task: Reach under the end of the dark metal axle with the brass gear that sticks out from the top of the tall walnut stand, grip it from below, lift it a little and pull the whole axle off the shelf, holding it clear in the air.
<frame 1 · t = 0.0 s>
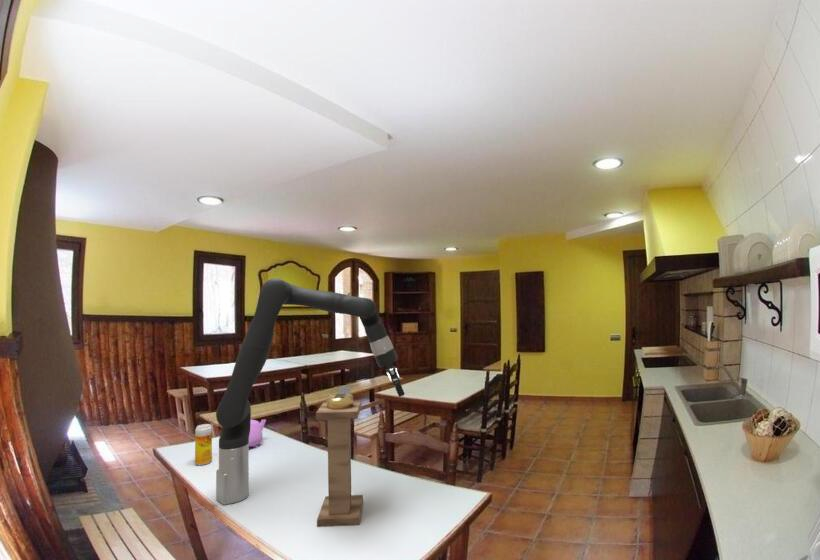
hand: (400, 393, 144), 31 cm above the table, tool tilted 20°, fingers open, 8 cm apart
wooden stand: (341, 513, 123), on the table
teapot: (245, 447, 183), on the table
beer can: (203, 463, 165), on the table
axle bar: (342, 400, 132), point 32 cm above the table, touching wooden stand
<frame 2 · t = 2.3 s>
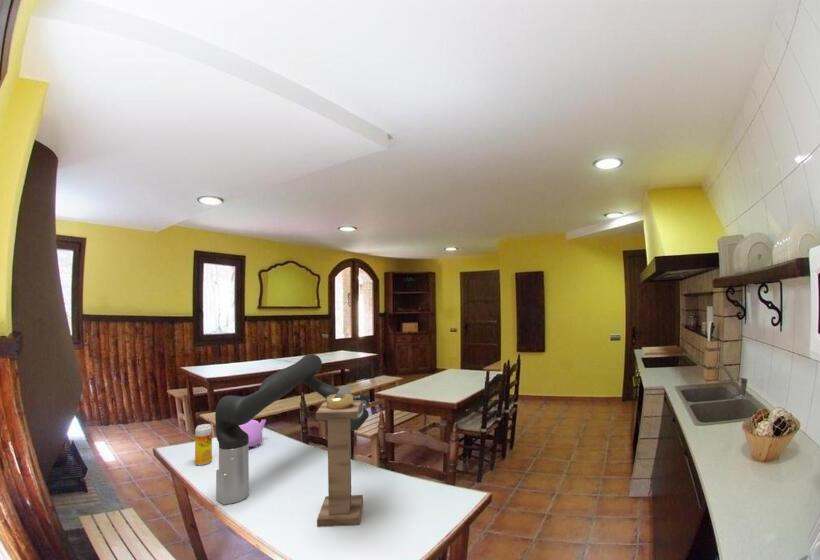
hand: (349, 395, 151), 29 cm above the table, tool pointing upward, fingers open, 8 cm apart
nothing on the table moved.
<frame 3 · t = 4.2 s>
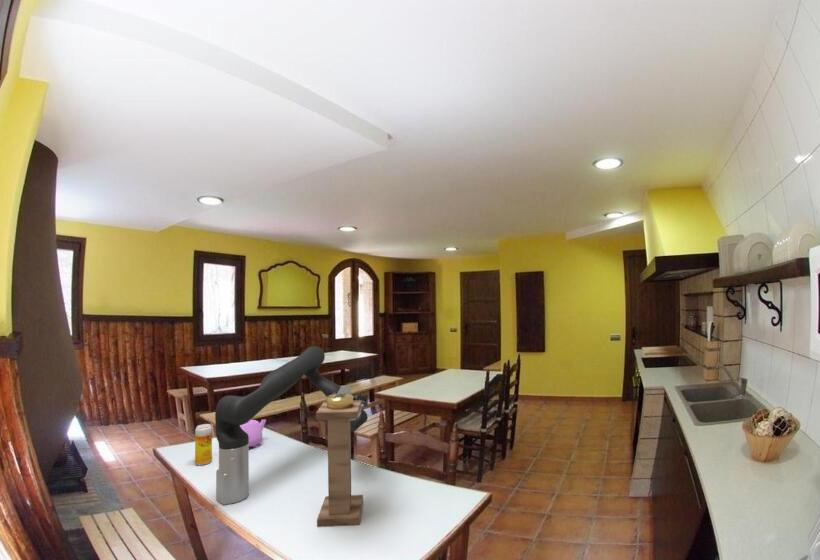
hand: (346, 394, 141), 32 cm above the table, tool pointing upward, fingers open, 8 cm apart
nothing on the table moved.
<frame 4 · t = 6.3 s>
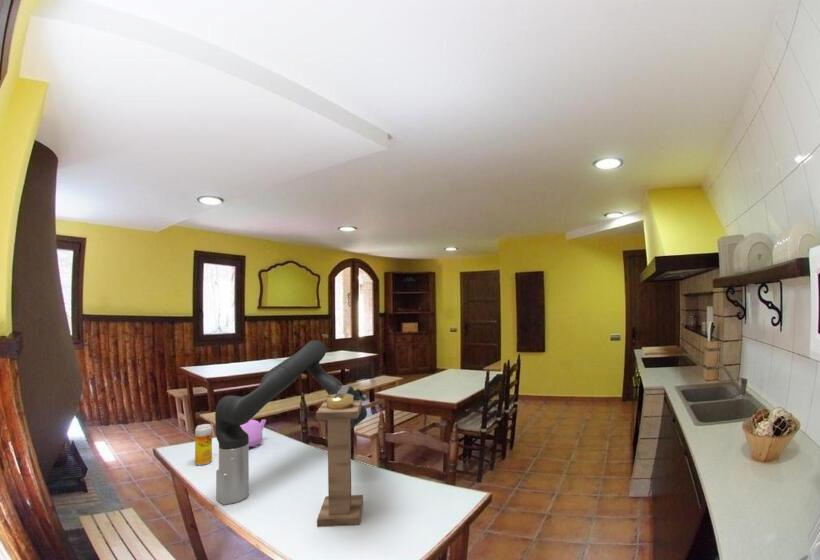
hand: (344, 388, 136), 35 cm above the table, tool pointing upward, fingers closed on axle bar, 3 cm apart
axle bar: (342, 400, 132), point 32 cm above the table, touching gripper, wooden stand
everything else where it was.
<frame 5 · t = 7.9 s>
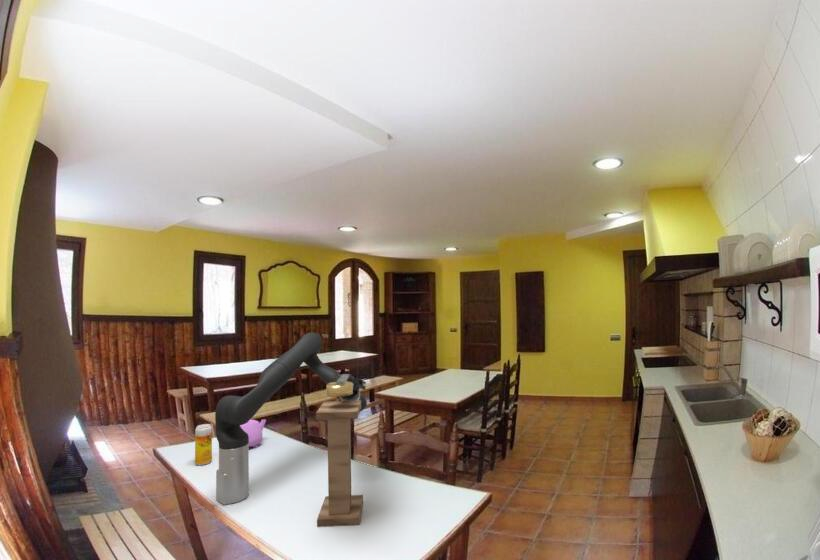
hand: (344, 377, 137), 39 cm above the table, tool pointing upward, fingers closed on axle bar, 3 cm apart
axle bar: (342, 388, 132), point 36 cm above the table, touching gripper
everything else where it was.
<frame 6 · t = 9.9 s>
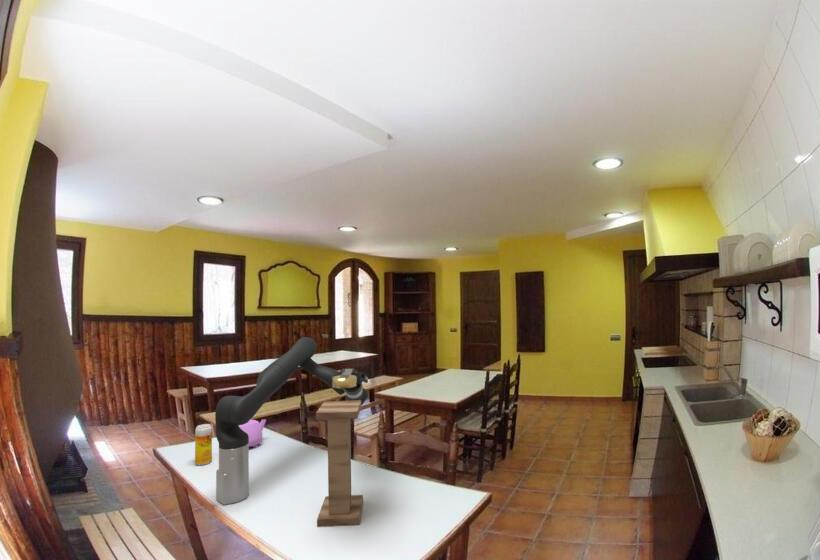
hand: (348, 371, 148), 39 cm above the table, tool pointing upward, fingers closed on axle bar, 3 cm apart
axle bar: (347, 381, 144), point 36 cm above the table, touching gripper
everything else where it was.
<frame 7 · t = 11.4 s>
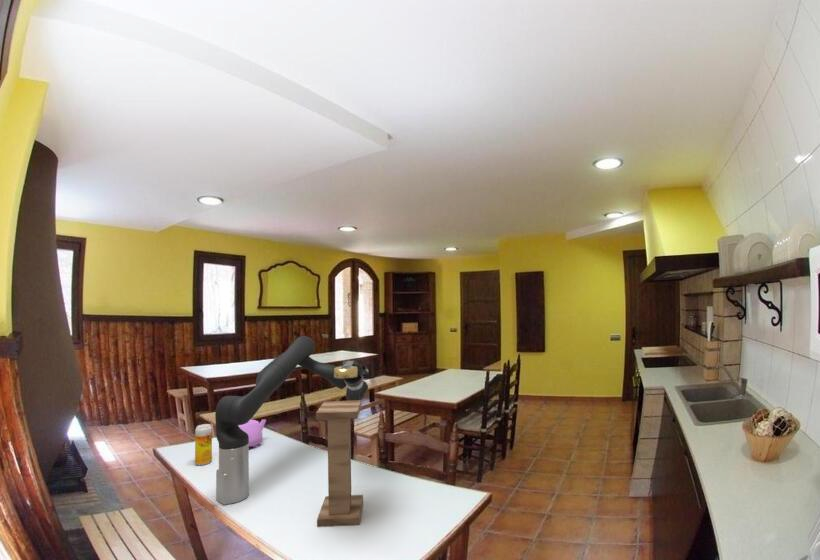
hand: (349, 362, 153), 41 cm above the table, tool pointing upward, fingers closed on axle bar, 3 cm apart
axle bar: (348, 372, 148), point 38 cm above the table, touching gripper
everything else where it was.
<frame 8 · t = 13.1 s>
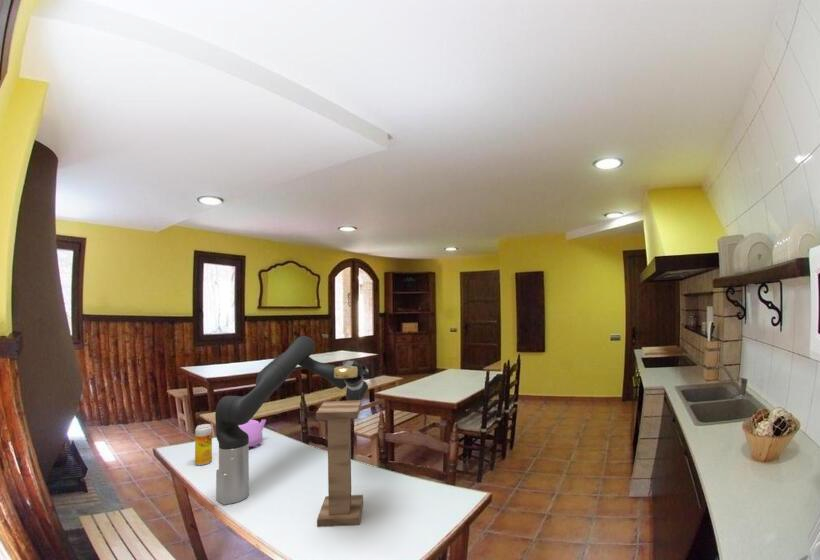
hand: (349, 362, 153), 41 cm above the table, tool pointing upward, fingers closed on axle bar, 3 cm apart
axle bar: (348, 372, 148), point 38 cm above the table, touching gripper
everything else where it was.
at the end: the gripper is holding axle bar; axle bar moved 17.1 cm from its start; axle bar touching gripper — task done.
